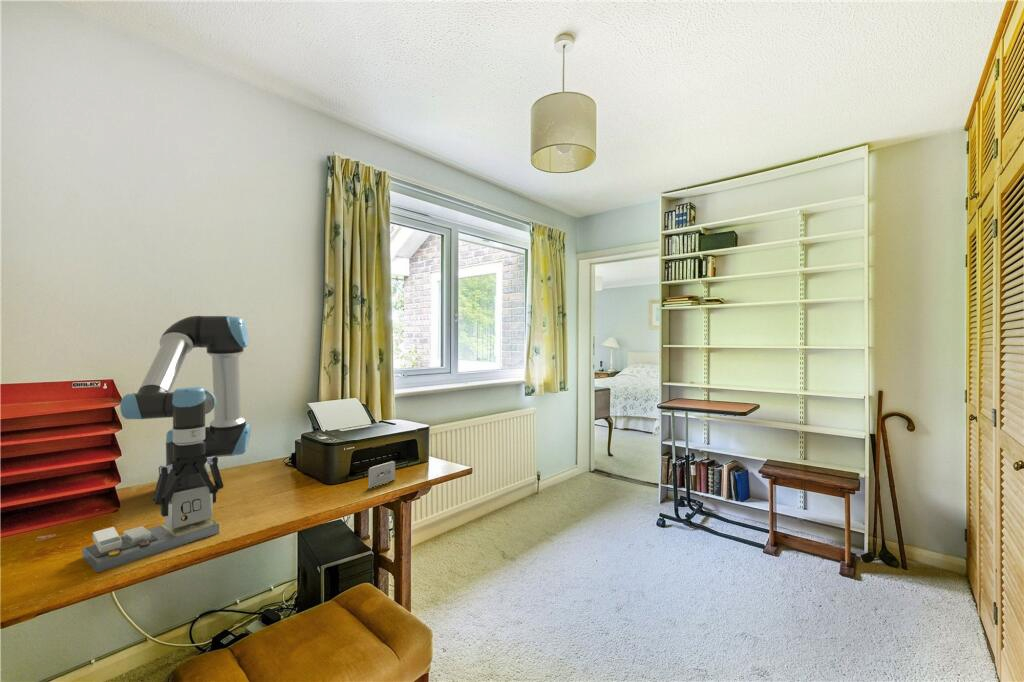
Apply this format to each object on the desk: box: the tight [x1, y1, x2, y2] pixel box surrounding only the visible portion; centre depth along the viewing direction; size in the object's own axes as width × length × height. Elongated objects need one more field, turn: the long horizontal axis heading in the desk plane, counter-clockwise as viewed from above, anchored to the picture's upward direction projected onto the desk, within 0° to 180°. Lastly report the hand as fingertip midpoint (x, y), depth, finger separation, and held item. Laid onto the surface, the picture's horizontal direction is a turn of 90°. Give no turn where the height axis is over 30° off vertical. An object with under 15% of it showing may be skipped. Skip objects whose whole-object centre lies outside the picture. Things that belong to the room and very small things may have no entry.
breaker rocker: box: [92, 526, 122, 553], centre depth 111 cm, size 7×4×2 cm, turn 56°
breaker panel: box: [81, 518, 220, 574], centre depth 119 cm, size 13×26×4 cm, turn 146°
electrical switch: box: [169, 486, 212, 528], centre depth 126 cm, size 9×5×9 cm, turn 141°
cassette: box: [368, 460, 396, 489], centre depth 168 cm, size 12×2×8 cm, turn 145°
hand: (189, 520), depth 125 cm, fingers closed on electrical switch, 9 cm apart
